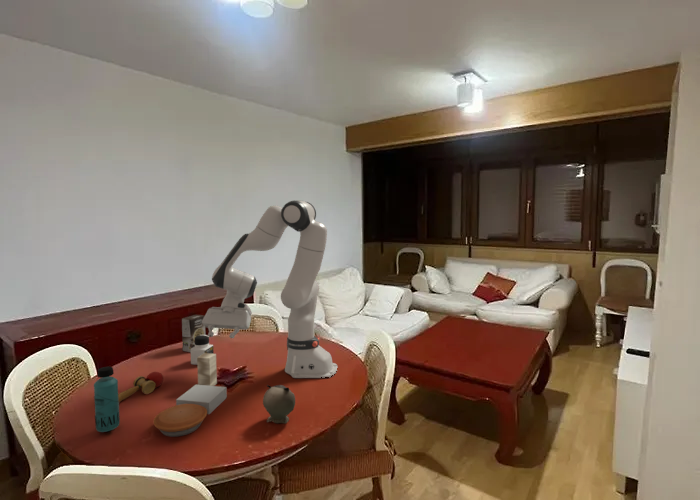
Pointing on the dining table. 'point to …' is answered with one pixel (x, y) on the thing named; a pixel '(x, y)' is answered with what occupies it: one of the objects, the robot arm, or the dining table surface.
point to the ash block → (207, 369)
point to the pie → (180, 419)
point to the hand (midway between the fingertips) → (220, 336)
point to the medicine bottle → (200, 348)
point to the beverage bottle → (106, 400)
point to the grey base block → (204, 396)
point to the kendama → (143, 385)
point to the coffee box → (191, 330)
